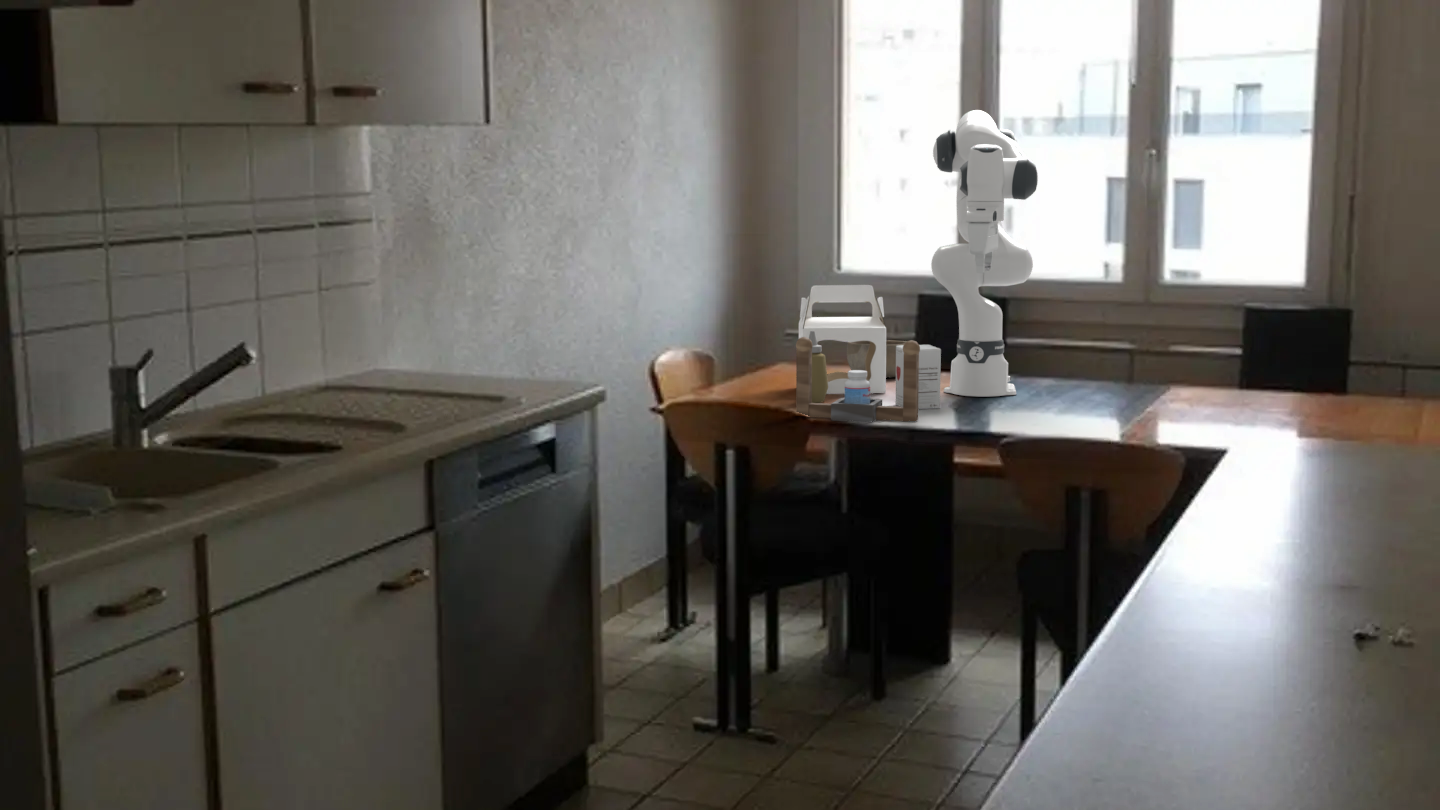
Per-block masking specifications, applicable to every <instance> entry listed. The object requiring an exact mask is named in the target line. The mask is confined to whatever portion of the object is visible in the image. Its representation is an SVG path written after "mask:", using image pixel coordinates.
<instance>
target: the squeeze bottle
mask: <svg viewBox="0 0 1440 810" xmlns="http://www.w3.org/2000/svg"><path fill="white" fill-rule="evenodd" d="M809 339H810V340H811V341H812V344H813V347H812V403H823V402H824V401H825V398H826V395H827V394H826V393H827V390H828V380H827V374H828V373H827V372H828V371H827V362H826V361H827V360H826V359H827V358H826V355H825V354H824V353H822V351H823V350H822V347H823V346H822V344H821V345H820V344H818V342H817V339H816V335H815V331H810V334H809Z"/></svg>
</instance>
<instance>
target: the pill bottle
mask: <svg viewBox="0 0 1440 810" xmlns="http://www.w3.org/2000/svg"><path fill="white" fill-rule="evenodd" d="M847 373H848V378H849V380H848V381H846V383H845V394H844V398H845V403H847V404H870V399H871V394H870V383H869V382H868V381H867V380H866V378H867V371H864V370H851V369H850V370H848V371H847Z"/></svg>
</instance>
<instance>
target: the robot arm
mask: <svg viewBox="0 0 1440 810" xmlns="http://www.w3.org/2000/svg"><path fill="white" fill-rule="evenodd" d="M932 156H933V159H934V163H935V164H936V167H937V169H938V170H939V171H941V172H944V173H953V172H956V173H960V178H959V180H958V186H957V191H956V216H957V217H956V218H957V230H958V232H959V234H960V236H961V238H962V239H963V240H964V241H966V242H967V243H954V244H953V243H952V244H947V245H943V246H939V247H938V248H937V250H936V251H935V252H934V254H933V256H932V258H931V264H930V265H931V267H930V269H931V272H932V275H933V276H934V279H935V280H936V281H937V282H938V283H939V284H940V285H942V286H943V287H944V288H945V289H946V290H947V291H948V292H949V293H950V295H951V297H952V298H953V300H954V302H955V305H956V307H957V313H958V327H959V329H958V333H959V334H958V339H957V344H956V353H957V355H956V357H955V358H953V359H952V360H951V363H950V377H949V378H950V379H949V386H946V387H944V388H943V393H948V394H954V395H959V396H965V397H1000V396H1002V397H1003V396H1015V395H1017V390H1016V386H1015V384H1014V383H1010V382H1011V380H1012V379H1011V378H1012V377H1011V376H1010V375H1009V362H1008V360H1006V359H1005V356H1004V353H1005V343H1004V342H1005V341H1004V339H1003V318H1004V317H1003V316H1004V315H1003V311H1002V308H1001V307H1000V305H998V304H997V303H996V302H994V301H993V300H990V299H989V298H986V297H984V296H982V295H981V294H980V291H979V288H980V287H1009V286H1014V285H1019V284H1023V283H1025V282H1026V281H1028V279H1029V277H1030V276H1031V274H1032V273H1033V267H1034V265H1033V261H1034V260H1033V257H1032V254H1031V253H1030V251H1029V249H1027V247H1025V246H1024V245H1023V244H1020V243H1019V242H1017V241H1015V240H1014V239H1013V238H1012V237H1011V236H1009V234H1008V233H1007V232H1006V231H1005V229H1004V227H1003V225H1002V224H1003V223H1002V222H1003V221H1004V217H1005V199H1013V200H1021V201H1022V200H1023V201H1024V200H1025V201H1026V200H1027V199H1029V198H1030V197H1031V196H1033V194H1035V192H1036V191H1037V187H1038V183H1039V182H1038V181H1039V175H1038V170H1037V167H1036V164H1035V162H1033V160H1032V159H1030V158H1029V157H1027V155H1026V154H1025V152H1024V151H1023V150H1022V148H1021V147H1020V145H1019V144H1018V140H1017V138H1016V136H1015V133H1014V132H1013V131H1012V130H1010V129H1006V128H1005V129H1004V128H998V126H997V124H996V122H995V121H994V119H993V118H992V117H991V115H990V114H989V113H987V112H986V111H983V110H980V109H975V110H970V111H967V112H966V113H964V114H963V115H962V117H961V118H960V119H959V121H958V124H957V126H956V130H955V131H954V130H951V129H948V130H947V132H944V133H941V134H940V135H939V136H937V137H936V139H935V142H934V146H933V148H932Z"/></svg>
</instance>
